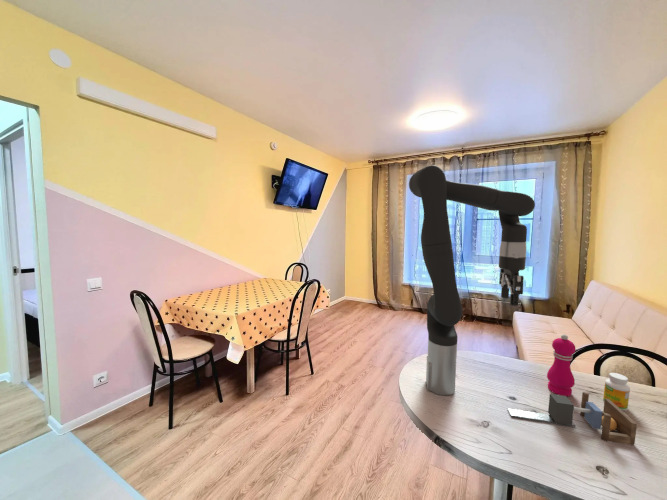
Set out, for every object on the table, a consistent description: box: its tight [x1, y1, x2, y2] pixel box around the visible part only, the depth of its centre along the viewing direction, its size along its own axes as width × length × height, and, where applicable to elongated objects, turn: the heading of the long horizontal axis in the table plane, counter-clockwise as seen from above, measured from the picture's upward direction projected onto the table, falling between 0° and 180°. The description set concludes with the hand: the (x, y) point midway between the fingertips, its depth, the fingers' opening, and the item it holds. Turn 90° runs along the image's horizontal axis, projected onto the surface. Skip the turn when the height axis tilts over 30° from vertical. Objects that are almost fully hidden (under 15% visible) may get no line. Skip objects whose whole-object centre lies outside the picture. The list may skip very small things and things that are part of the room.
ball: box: [601, 416, 617, 432], centre depth 75 cm, size 4×4×4 cm
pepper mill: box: [546, 334, 577, 398], centre depth 91 cm, size 7×7×20 cm
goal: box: [579, 391, 638, 446], centre depth 75 cm, size 7×10×7 cm, turn 165°
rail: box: [507, 408, 577, 428], centre depth 80 cm, size 16×3×1 cm, turn 75°
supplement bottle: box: [602, 372, 631, 411], centre depth 85 cm, size 5×5×10 cm
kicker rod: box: [547, 393, 603, 430], centre depth 77 cm, size 11×4×6 cm, turn 75°
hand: (509, 301), depth 93 cm, fingers open, 8 cm apart
